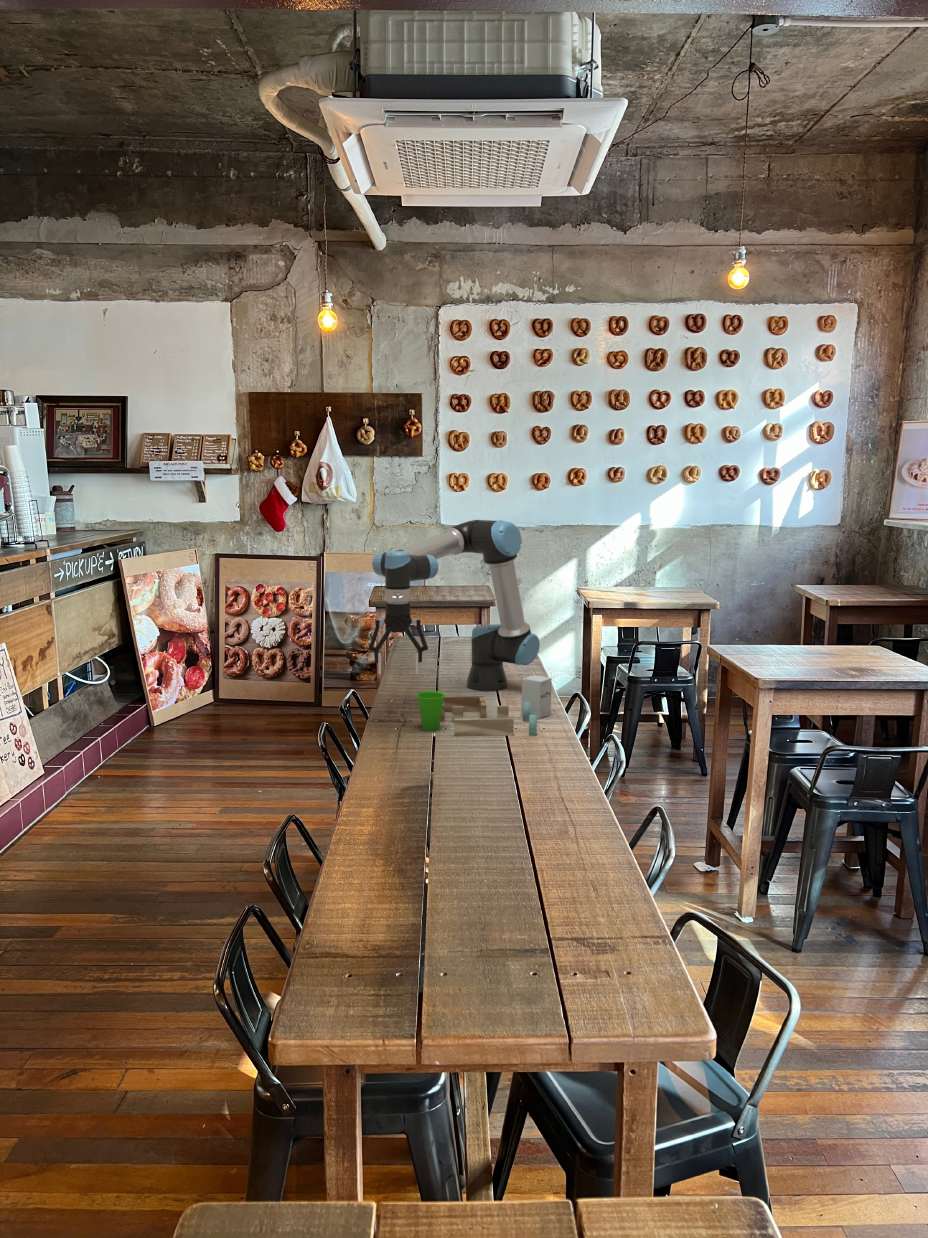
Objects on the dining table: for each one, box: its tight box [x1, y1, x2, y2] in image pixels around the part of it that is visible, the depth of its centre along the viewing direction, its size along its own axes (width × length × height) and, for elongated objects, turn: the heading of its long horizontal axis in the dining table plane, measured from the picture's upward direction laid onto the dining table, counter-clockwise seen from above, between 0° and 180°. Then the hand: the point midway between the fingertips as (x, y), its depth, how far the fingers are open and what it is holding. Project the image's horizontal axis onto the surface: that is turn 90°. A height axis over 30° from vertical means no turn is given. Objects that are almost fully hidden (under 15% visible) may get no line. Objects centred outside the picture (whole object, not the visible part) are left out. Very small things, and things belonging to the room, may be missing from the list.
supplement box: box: [520, 674, 552, 720], centre depth 287 cm, size 7×7×13 cm
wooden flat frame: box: [440, 695, 515, 737], centre depth 279 cm, size 28×22×5 cm
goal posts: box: [522, 702, 538, 737], centre depth 273 cm, size 17×2×6 cm, turn 3°
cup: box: [415, 690, 446, 732], centre depth 271 cm, size 9×9×11 cm
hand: (398, 672), depth 268 cm, fingers open, 11 cm apart
